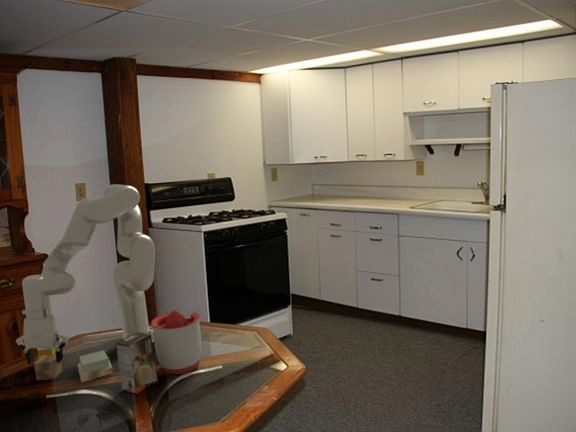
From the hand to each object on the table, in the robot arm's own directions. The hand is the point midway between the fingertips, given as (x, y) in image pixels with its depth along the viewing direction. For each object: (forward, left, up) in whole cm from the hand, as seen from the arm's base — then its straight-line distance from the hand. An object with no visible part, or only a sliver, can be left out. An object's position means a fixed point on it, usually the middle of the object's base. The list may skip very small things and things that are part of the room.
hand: (45, 361), depth 181 cm
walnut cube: (-1, 0, -5) cm, 5 cm away
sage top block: (-15, +7, -3) cm, 16 cm away
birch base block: (-15, +7, -6) cm, 17 cm away
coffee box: (-26, +26, -5) cm, 37 cm away
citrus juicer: (-41, +19, -5) cm, 46 cm away
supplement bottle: (-1, -10, -5) cm, 12 cm away
